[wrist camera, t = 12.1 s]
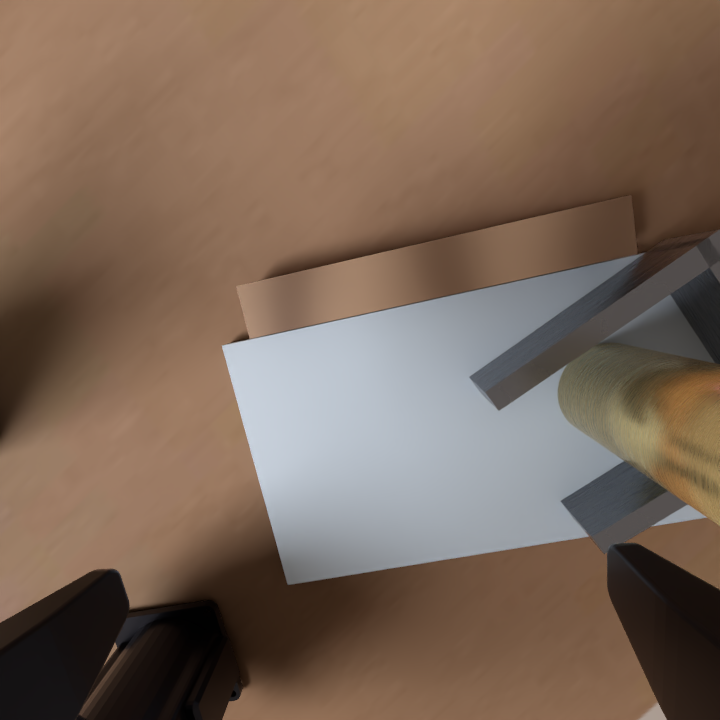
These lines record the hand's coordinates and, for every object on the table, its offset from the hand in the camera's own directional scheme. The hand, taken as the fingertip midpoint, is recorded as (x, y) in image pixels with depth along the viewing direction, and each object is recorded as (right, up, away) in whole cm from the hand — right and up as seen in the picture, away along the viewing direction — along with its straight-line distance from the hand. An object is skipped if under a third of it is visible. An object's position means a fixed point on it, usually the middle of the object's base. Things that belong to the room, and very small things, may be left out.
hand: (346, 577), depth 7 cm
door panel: (+7, +1, +13) cm, 15 cm away
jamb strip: (+3, +8, +12) cm, 15 cm away
